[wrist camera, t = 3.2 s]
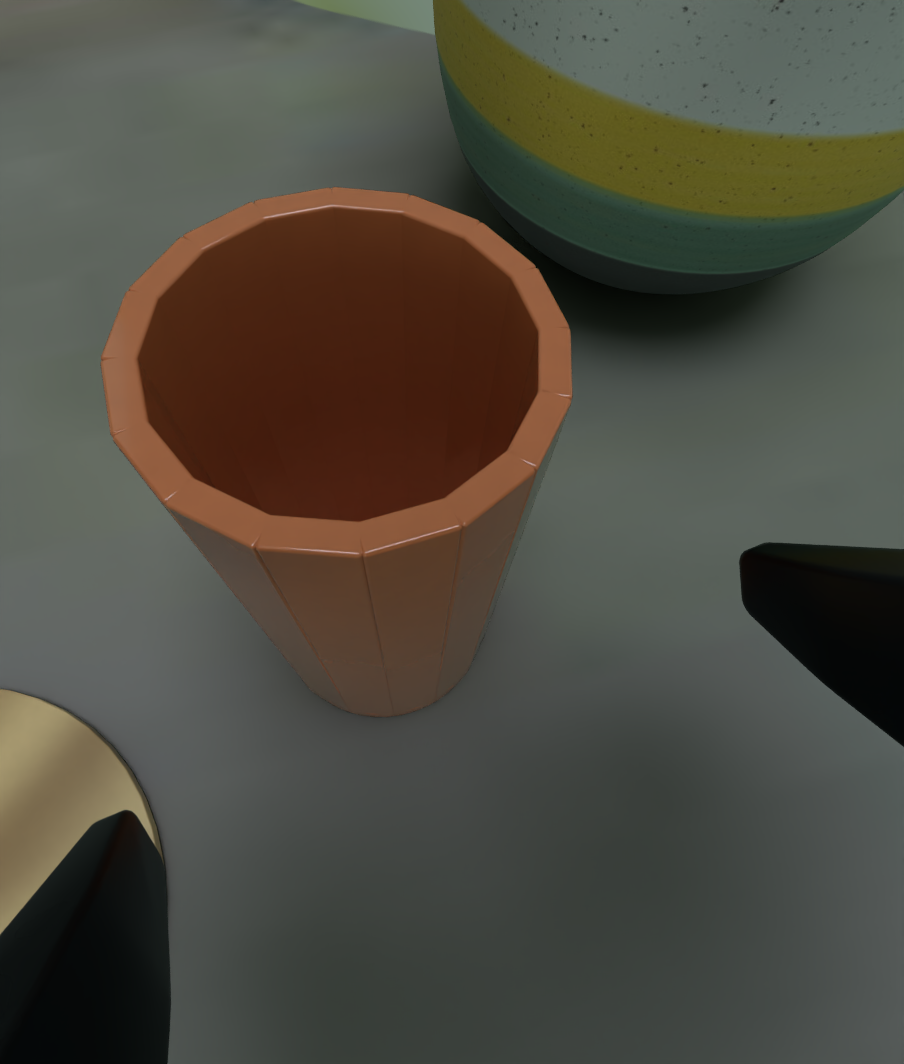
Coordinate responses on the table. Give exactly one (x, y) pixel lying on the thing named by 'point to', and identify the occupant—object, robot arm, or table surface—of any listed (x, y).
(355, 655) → the terracotta pot
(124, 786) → the beige flat disc
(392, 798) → the table surface
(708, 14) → the planter
